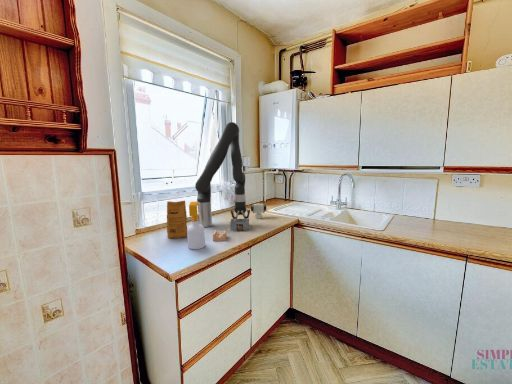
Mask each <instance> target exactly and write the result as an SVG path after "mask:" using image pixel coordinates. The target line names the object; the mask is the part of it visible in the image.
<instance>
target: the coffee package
mask: <svg viewBox="0 0 512 384" xmlns="http://www.w3.org/2000/svg"><path fill="white" fill-rule="evenodd" d="M187 217H188V215H187V207H186V200H179V201H170V200H169V201H167V202H166V234H167V238H168V239H173V238H175V239H181V238H186V237H187V228H188V224H187V223H188V221H187V220H188V219H187Z"/></svg>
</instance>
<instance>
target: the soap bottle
mask: <svg viewBox="0 0 512 384" xmlns="http://www.w3.org/2000/svg"><path fill="white" fill-rule="evenodd" d="M188 210H189V211H188V213H189V214H188V215H189V217H192V219H191V224H190V225H189V226H187V236H186V237H187V247H188V249H189V250H190V249H191V250H199V249H203V248H205V246H206V236H205V235H206V233H205V227H203V226H202V225H200V224H199V223H198V218H197V216H198V215H199V214H197V213H198V202H197V201H190V203H189V204H188Z"/></svg>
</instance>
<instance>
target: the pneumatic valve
mask: <svg viewBox="0 0 512 384" xmlns="http://www.w3.org/2000/svg"><path fill="white" fill-rule="evenodd" d="M266 211H267V205H266V204H265V203H260V202H258V203H253V204H252V205H250V212H252V213H253V214H255V216H254V217H255V219H260V220H261V219H262V218H263V214H264V213H265V212H266Z"/></svg>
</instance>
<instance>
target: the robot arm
mask: <svg viewBox="0 0 512 384" xmlns="http://www.w3.org/2000/svg"><path fill="white" fill-rule="evenodd" d="M239 137H240V127H239V126H238V124H237V123H236V122H233V121H231V122H228V123H227V124H225V126H224V129H223V132H222V134H221V136H220V138H219V140H218V142H217V144H216V146H214V149H213V150H212V152H211V154H210V156H209V158H208V161H207V162H206V165H205V166H204V169H203V171H202V173H201V174H200V176H199V177H198V179H197V180H196V182H195V184H194V185H195V186H194V187H195V190H196V191H197V197H196V202H198V205H197V214H199V215H198V216H197V219H198V223H199V224H200V225H202V226H203V227H204V228H208V227H211V226H213V218H212V217H213V215H212V185H211V182H212V180H213V178H214V176H215V175H216V173H217V172H218V170H219V169H220V168H221V166H222V165H223V163H224V161H225V159H226V156H227V155H228V152H229V148H230V158H231V165H232V179H233V180H234V183H235V186H234V209H231V210H230V214H231V217H232V218H231V219H238V217H239V216H243V219H250V218H249V217H250V214H251V213H250V212H251V208H250V209H247V208H246V204H247V203H246V189H245V185H246V174H245V173H244V172H243V159H242V152H241V147H240V138H239ZM234 213H236V215H235V214H234ZM246 214H247V215H246Z"/></svg>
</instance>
